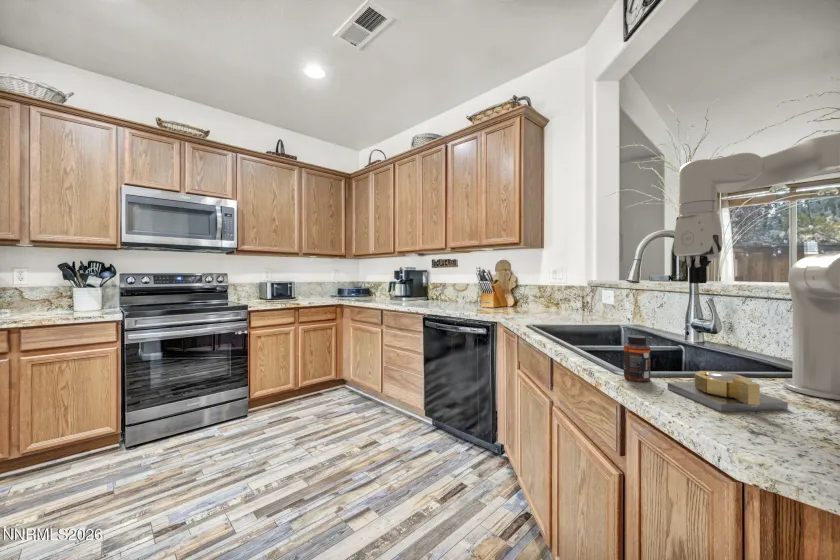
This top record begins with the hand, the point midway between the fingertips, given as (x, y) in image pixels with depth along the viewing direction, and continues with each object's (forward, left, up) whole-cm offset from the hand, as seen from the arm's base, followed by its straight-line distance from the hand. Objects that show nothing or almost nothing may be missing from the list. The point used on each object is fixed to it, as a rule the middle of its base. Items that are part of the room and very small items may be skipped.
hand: (697, 283), depth 88 cm
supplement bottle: (+14, -3, -25) cm, 29 cm away
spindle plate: (+5, +12, -25) cm, 28 cm away
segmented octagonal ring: (+5, +14, -23) cm, 28 cm away
